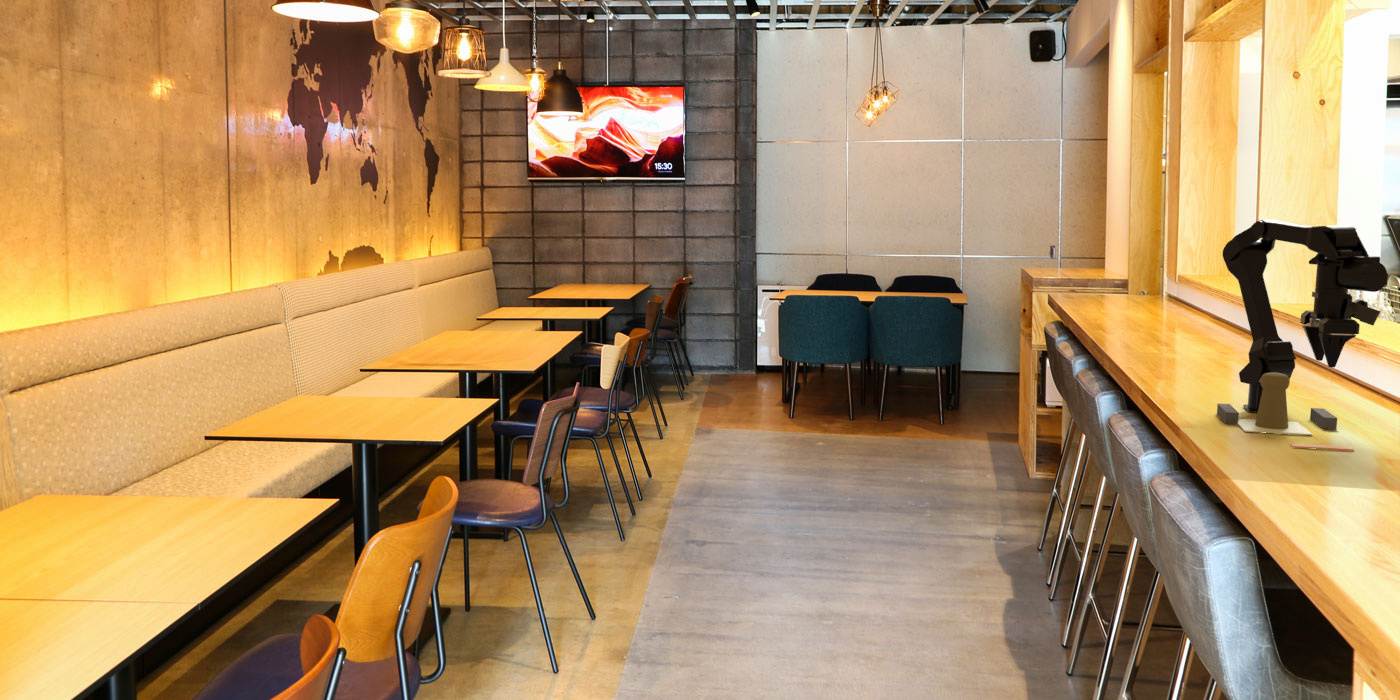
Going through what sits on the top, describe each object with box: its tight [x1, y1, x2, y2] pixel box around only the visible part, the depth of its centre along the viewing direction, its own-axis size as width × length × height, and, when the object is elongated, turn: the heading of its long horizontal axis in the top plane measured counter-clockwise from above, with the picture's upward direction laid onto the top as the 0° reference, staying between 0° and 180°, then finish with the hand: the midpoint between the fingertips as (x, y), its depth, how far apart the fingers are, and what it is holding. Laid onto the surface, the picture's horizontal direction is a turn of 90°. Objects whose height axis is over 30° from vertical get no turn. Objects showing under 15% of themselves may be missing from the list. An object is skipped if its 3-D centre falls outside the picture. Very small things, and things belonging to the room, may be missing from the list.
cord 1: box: [1216, 403, 1240, 425], centre depth 218 cm, size 10×2×2 cm, turn 163°
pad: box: [1236, 418, 1313, 437], centre depth 210 cm, size 12×12×1 cm
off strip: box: [1290, 443, 1355, 453], centre depth 192 cm, size 2×10×1 cm, turn 73°
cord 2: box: [1309, 407, 1338, 430], centre depth 213 cm, size 10×2×2 cm, turn 163°
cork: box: [1255, 372, 1291, 429], centre depth 209 cm, size 6×6×11 cm
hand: (1325, 363), depth 210 cm, fingers open, 9 cm apart
